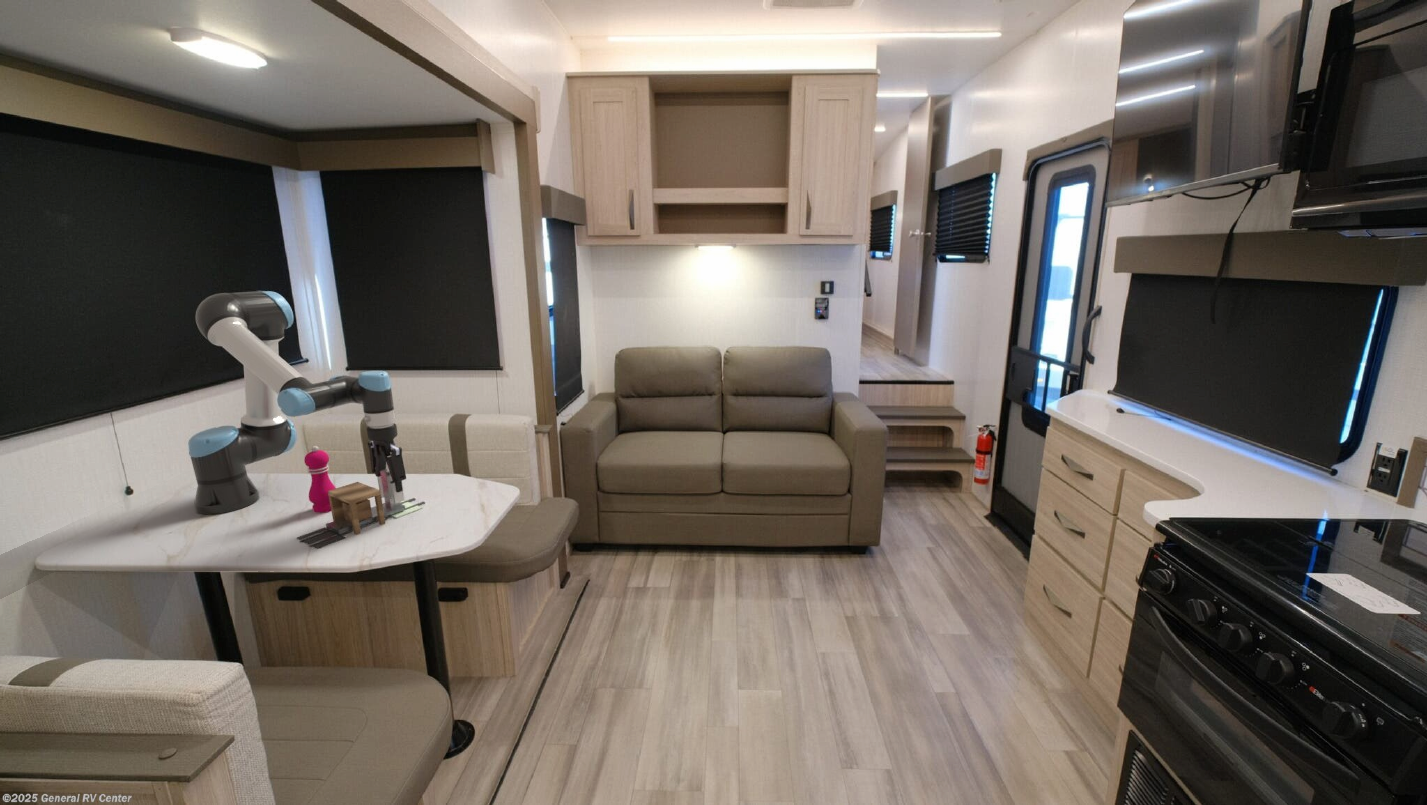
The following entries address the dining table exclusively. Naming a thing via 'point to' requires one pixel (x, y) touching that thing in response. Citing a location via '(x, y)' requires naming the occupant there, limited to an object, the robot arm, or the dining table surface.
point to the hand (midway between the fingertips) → (392, 498)
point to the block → (358, 510)
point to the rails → (360, 526)
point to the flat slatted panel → (321, 538)
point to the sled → (388, 507)
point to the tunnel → (354, 502)
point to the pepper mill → (319, 480)
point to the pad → (406, 510)
